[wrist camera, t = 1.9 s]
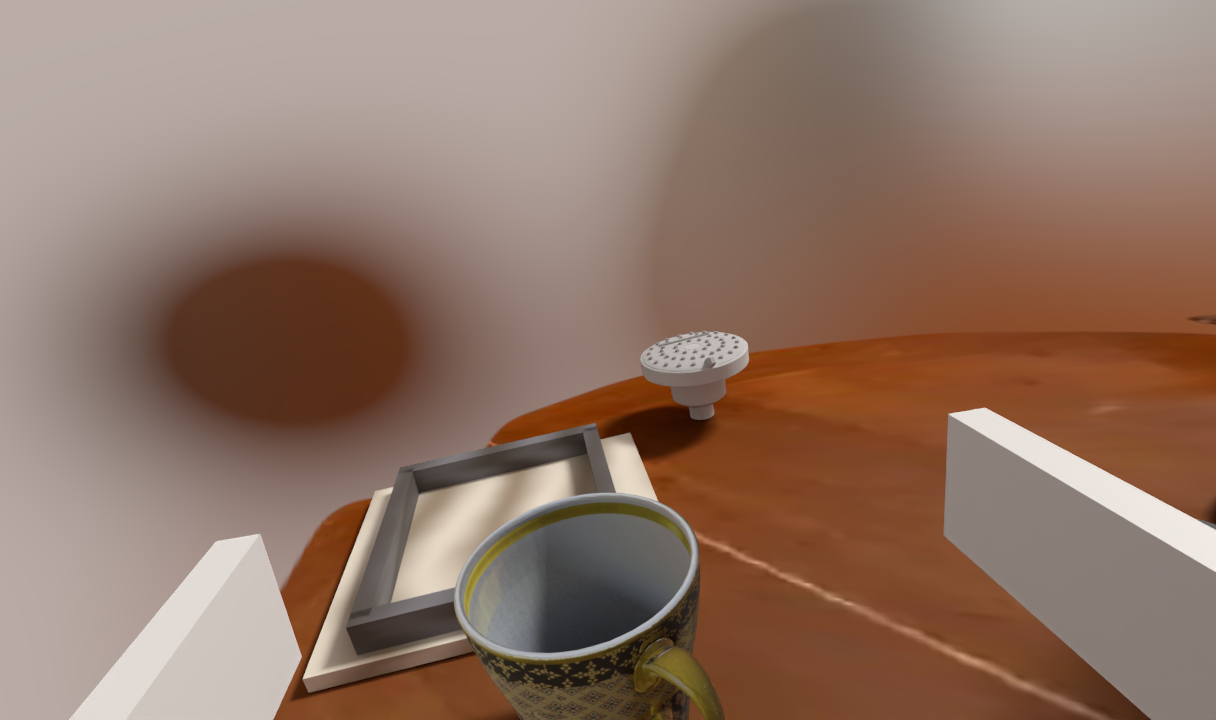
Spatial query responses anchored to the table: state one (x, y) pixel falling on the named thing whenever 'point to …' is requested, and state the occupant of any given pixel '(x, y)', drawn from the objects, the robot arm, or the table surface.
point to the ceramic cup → (589, 611)
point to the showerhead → (696, 367)
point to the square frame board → (450, 545)
